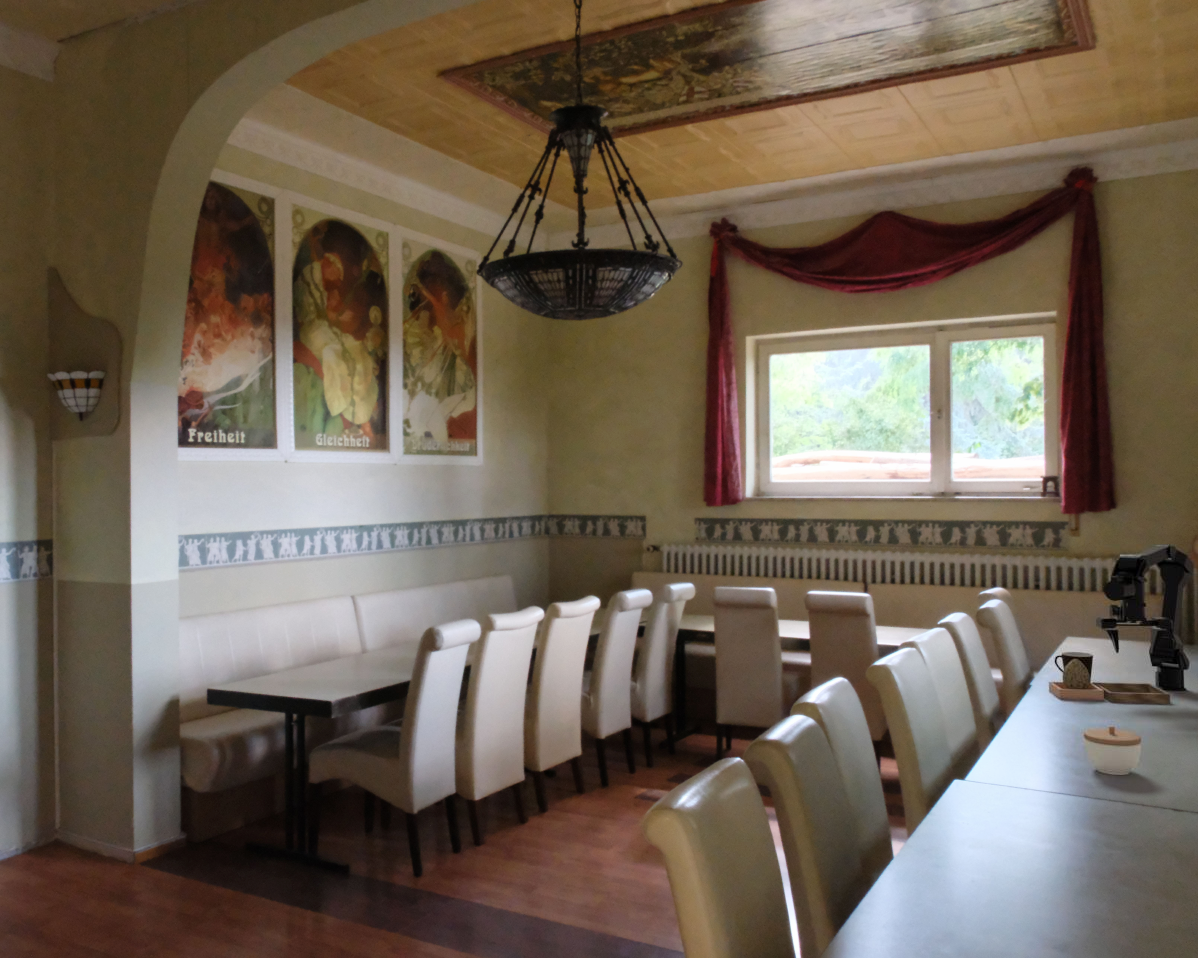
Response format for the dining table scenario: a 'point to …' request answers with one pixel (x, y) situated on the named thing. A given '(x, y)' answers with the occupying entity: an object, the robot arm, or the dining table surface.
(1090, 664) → the coffee mug
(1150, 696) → the tray
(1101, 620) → the robot arm
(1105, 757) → the lidded jar
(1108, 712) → the dining table surface
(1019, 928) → the dining table surface
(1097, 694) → the terracotta dish
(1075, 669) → the decorative egg
